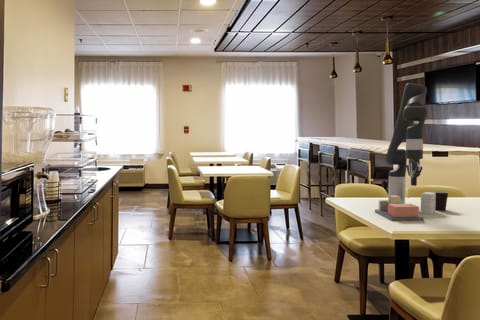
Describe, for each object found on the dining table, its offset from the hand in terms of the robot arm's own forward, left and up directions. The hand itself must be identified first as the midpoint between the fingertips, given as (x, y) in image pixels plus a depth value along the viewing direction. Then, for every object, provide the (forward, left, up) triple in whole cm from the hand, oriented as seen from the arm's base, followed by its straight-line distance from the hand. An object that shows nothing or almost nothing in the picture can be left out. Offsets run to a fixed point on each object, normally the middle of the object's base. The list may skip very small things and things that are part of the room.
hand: (413, 185), depth 206 cm
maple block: (-24, 0, -17) cm, 29 cm away
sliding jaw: (-12, 0, -16) cm, 20 cm away
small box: (-27, +20, -18) cm, 38 cm away
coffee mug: (-35, +31, -18) cm, 50 cm away
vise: (-18, 0, -18) cm, 25 cm away
